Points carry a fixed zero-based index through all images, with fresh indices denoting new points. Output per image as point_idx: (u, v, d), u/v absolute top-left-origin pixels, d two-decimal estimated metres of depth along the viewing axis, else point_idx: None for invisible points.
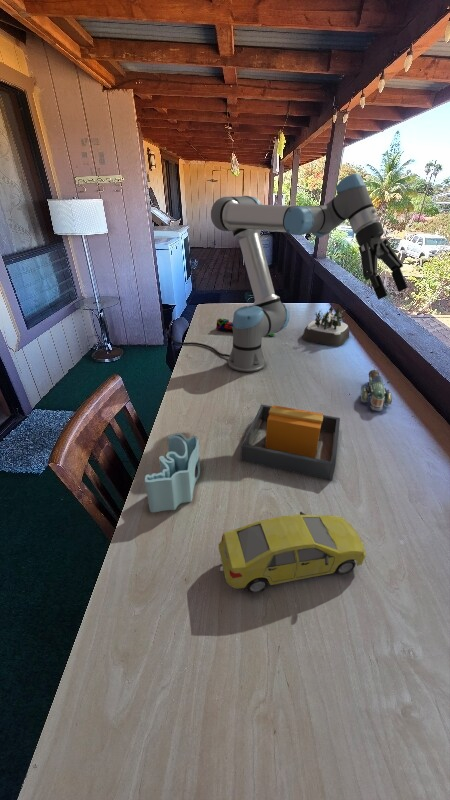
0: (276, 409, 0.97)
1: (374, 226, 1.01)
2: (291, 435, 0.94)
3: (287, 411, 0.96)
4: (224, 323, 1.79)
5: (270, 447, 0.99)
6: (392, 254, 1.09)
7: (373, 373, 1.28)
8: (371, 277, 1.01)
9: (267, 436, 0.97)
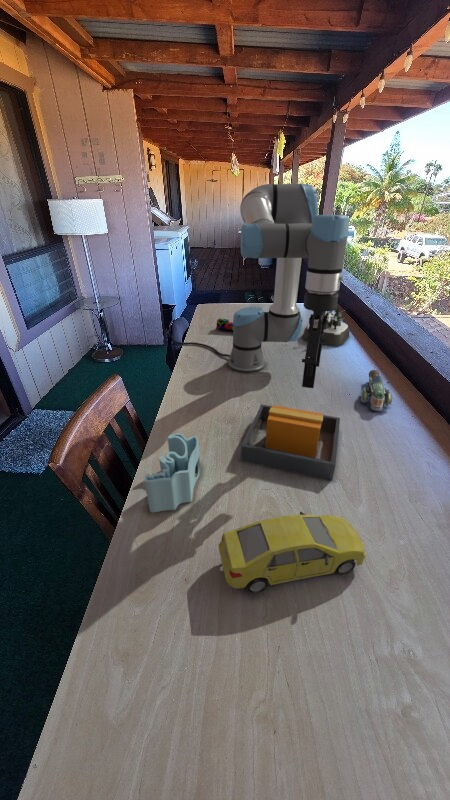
0: (276, 409, 0.97)
1: (334, 300, 0.78)
2: (291, 435, 0.94)
3: (287, 411, 0.96)
4: (224, 323, 1.79)
5: (270, 447, 0.99)
6: None
7: (373, 373, 1.28)
8: (309, 364, 0.80)
9: (267, 436, 0.97)
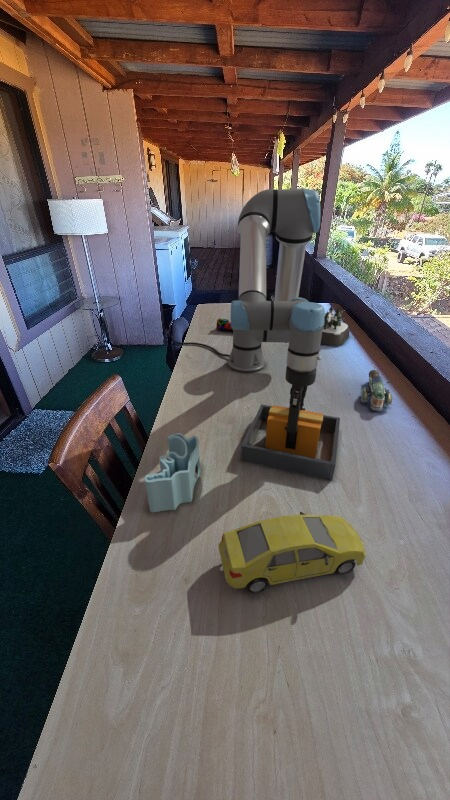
0: (276, 409, 0.97)
1: (312, 377, 0.86)
2: None
3: (287, 411, 0.96)
4: (224, 323, 1.79)
5: (270, 447, 0.99)
6: None
7: (373, 373, 1.28)
8: None
9: (267, 436, 0.97)
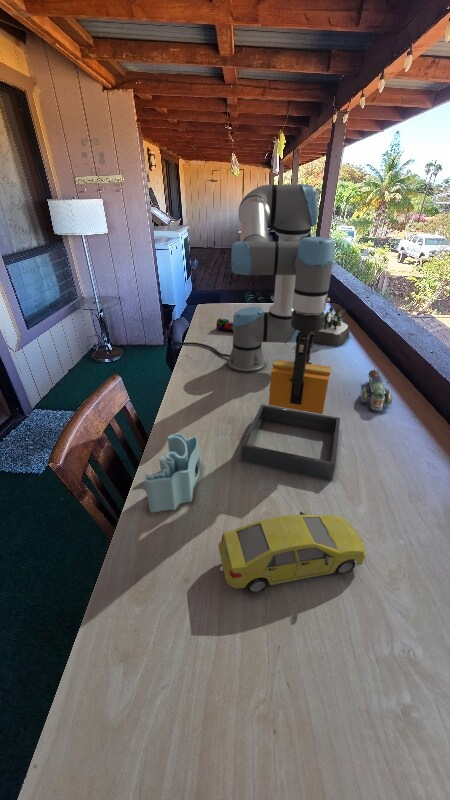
0: (280, 362, 0.90)
1: (320, 321, 0.79)
2: None
3: (292, 364, 0.89)
4: (224, 323, 1.79)
5: (274, 404, 0.92)
6: None
7: (373, 373, 1.28)
8: (297, 383, 0.85)
9: (271, 391, 0.91)
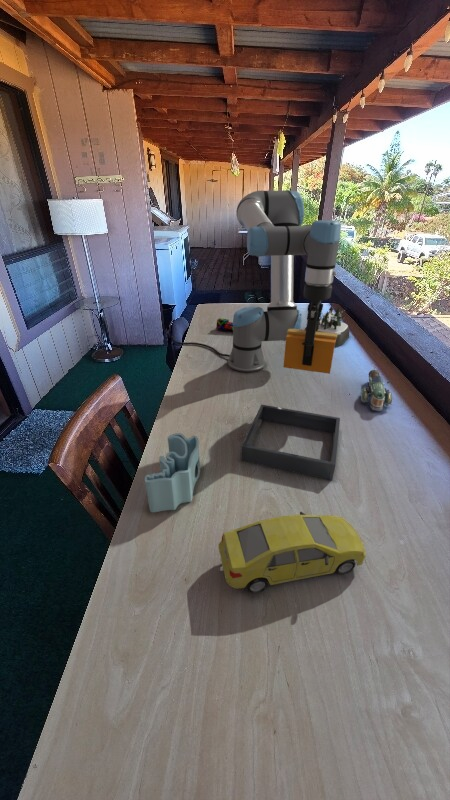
0: (294, 330, 1.06)
1: (328, 291, 0.95)
2: None
3: (304, 331, 1.05)
4: (224, 323, 1.79)
5: (287, 366, 1.07)
6: None
7: (373, 373, 1.28)
8: (308, 346, 1.00)
9: (285, 355, 1.06)
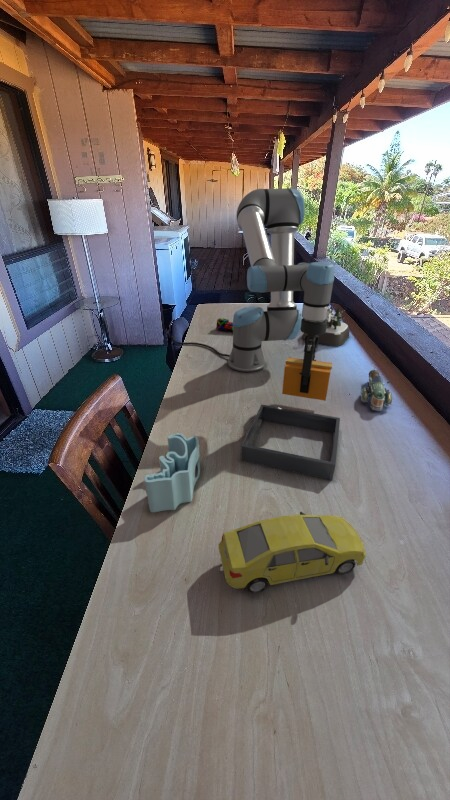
0: (292, 359, 1.13)
1: (323, 326, 1.02)
2: None
3: (301, 360, 1.12)
4: (224, 323, 1.79)
5: (286, 393, 1.15)
6: None
7: (373, 373, 1.28)
8: (305, 376, 1.07)
9: (284, 382, 1.13)
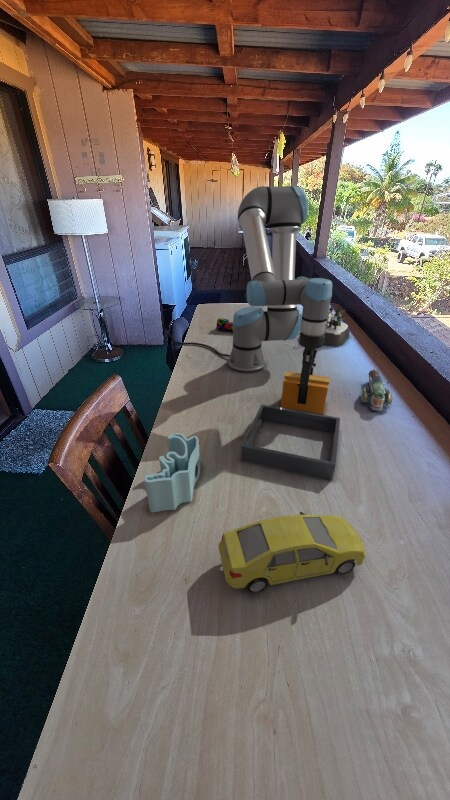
0: (290, 374, 1.15)
1: (321, 341, 1.04)
2: None
3: (299, 375, 1.15)
4: (224, 323, 1.79)
5: (285, 406, 1.17)
6: None
7: (373, 373, 1.28)
8: (303, 387, 1.07)
9: (283, 396, 1.16)
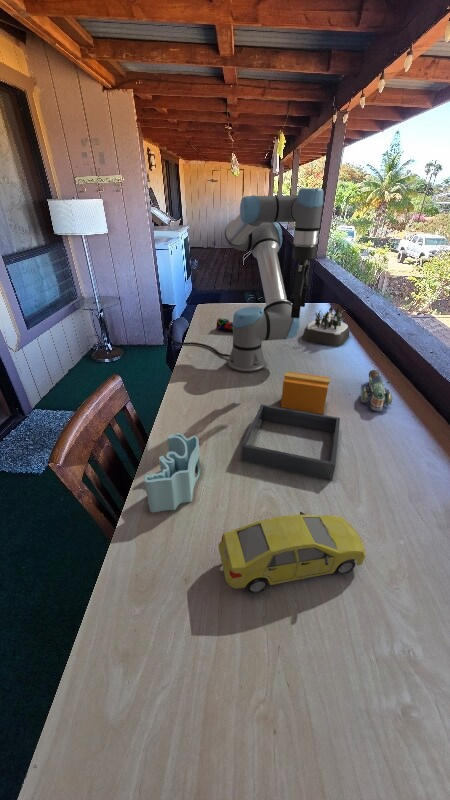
0: (290, 374, 1.15)
1: (313, 251, 1.08)
2: (303, 394, 1.13)
3: (299, 375, 1.15)
4: (224, 323, 1.79)
5: (285, 406, 1.17)
6: None
7: (373, 373, 1.28)
8: (296, 298, 1.11)
9: (282, 396, 1.16)
